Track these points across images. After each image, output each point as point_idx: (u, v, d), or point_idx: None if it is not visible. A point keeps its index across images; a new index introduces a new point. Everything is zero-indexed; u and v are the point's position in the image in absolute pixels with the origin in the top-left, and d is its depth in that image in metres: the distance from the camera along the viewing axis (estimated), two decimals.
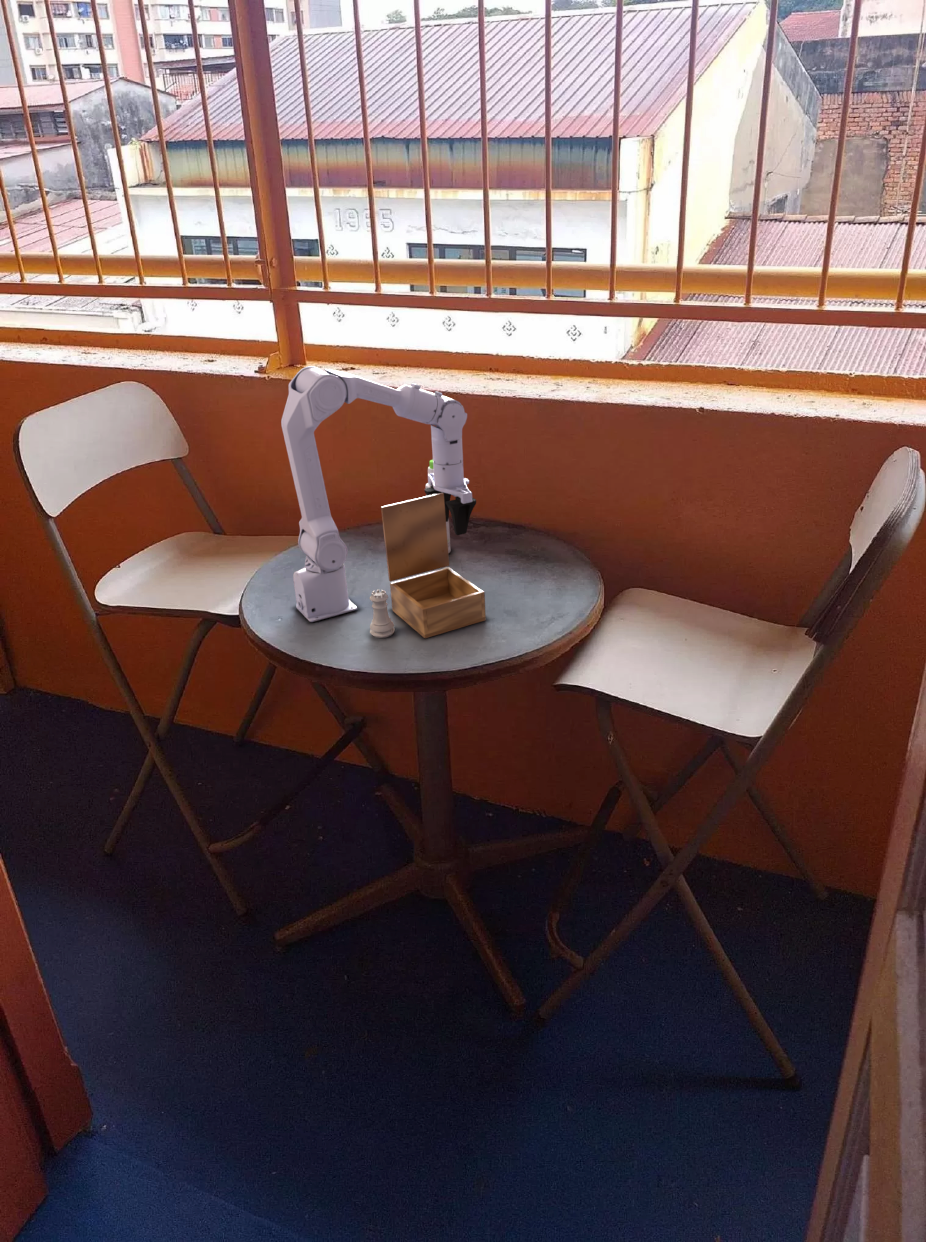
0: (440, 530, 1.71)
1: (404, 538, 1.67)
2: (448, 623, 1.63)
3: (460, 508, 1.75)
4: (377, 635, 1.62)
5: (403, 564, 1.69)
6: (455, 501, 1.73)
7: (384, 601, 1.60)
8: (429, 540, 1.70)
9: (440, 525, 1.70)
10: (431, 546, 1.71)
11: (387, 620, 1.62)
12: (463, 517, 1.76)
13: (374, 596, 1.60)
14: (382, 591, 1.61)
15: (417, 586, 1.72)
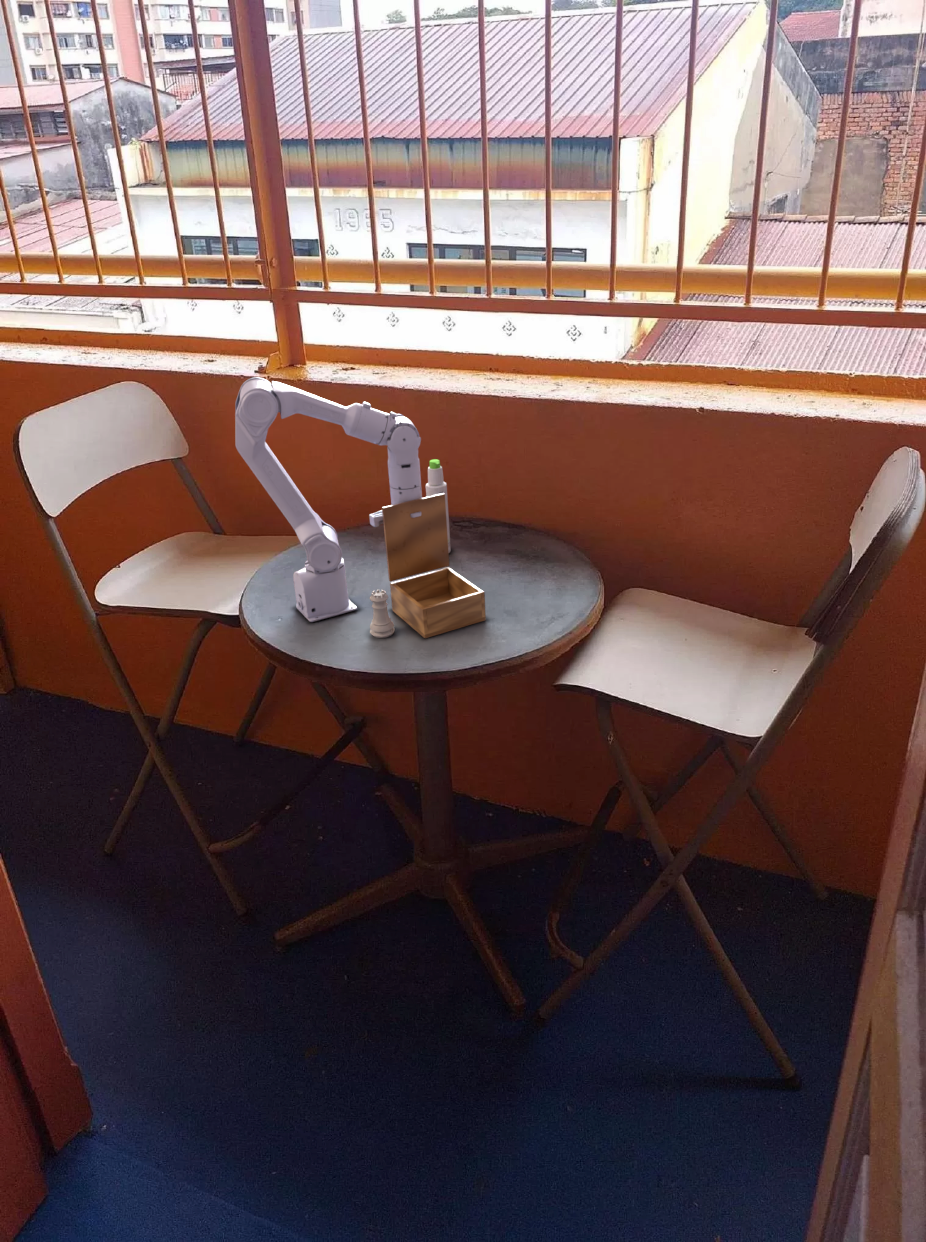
0: (441, 530, 1.70)
1: (405, 538, 1.67)
2: (448, 623, 1.63)
3: None
4: (377, 635, 1.62)
5: (403, 564, 1.69)
6: None
7: (384, 601, 1.60)
8: (429, 540, 1.70)
9: (441, 525, 1.70)
10: (431, 546, 1.71)
11: (387, 620, 1.62)
12: None
13: (374, 596, 1.60)
14: (382, 591, 1.61)
15: (417, 586, 1.72)
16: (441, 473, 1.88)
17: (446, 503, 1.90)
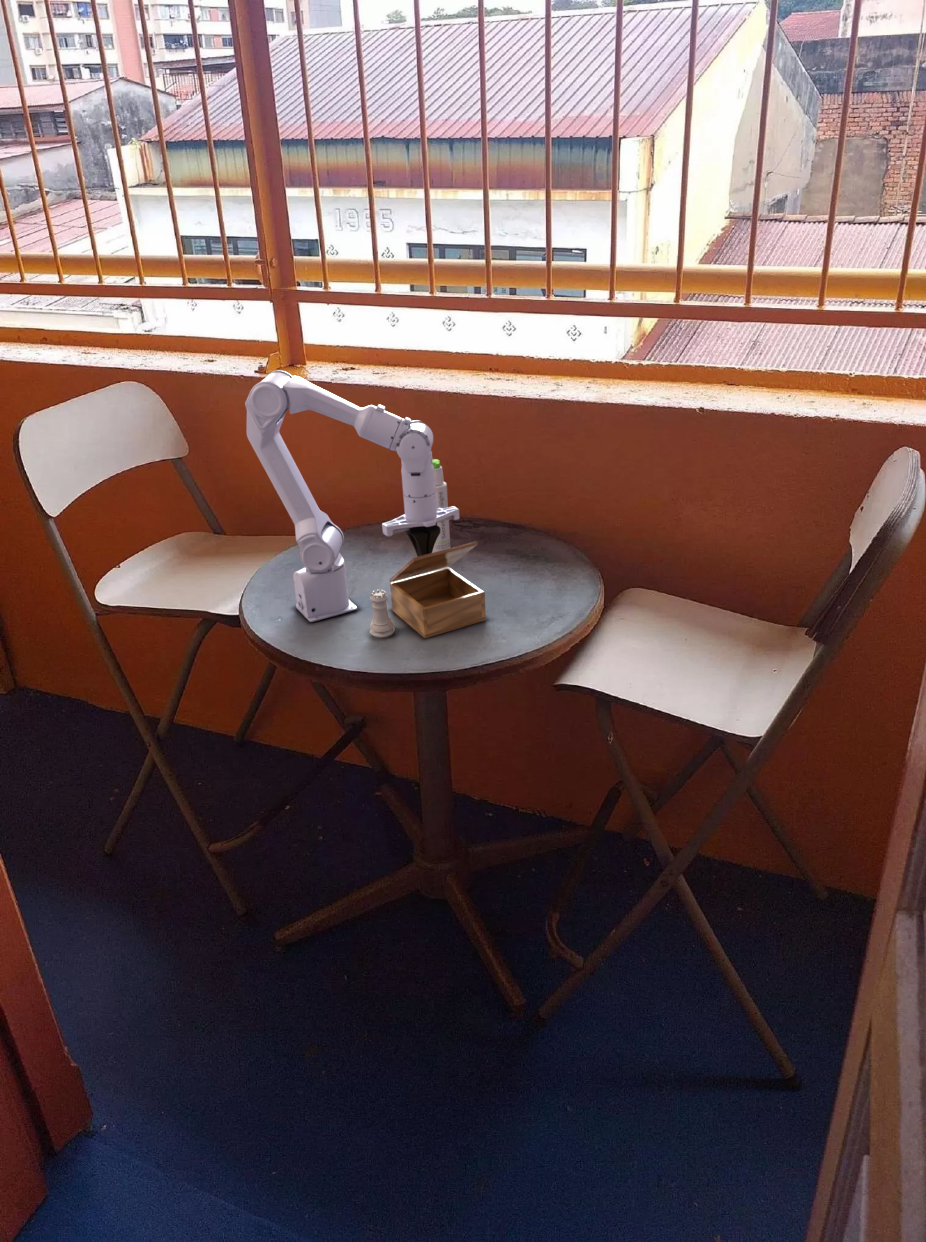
0: (457, 557, 1.67)
1: (421, 566, 1.64)
2: (448, 623, 1.63)
3: None
4: (377, 635, 1.62)
5: (409, 575, 1.68)
6: None
7: (384, 601, 1.60)
8: (442, 562, 1.67)
9: (459, 555, 1.66)
10: (441, 564, 1.69)
11: (387, 620, 1.62)
12: None
13: (374, 596, 1.60)
14: (382, 591, 1.61)
15: (417, 586, 1.72)
16: (441, 473, 1.88)
17: (446, 503, 1.90)
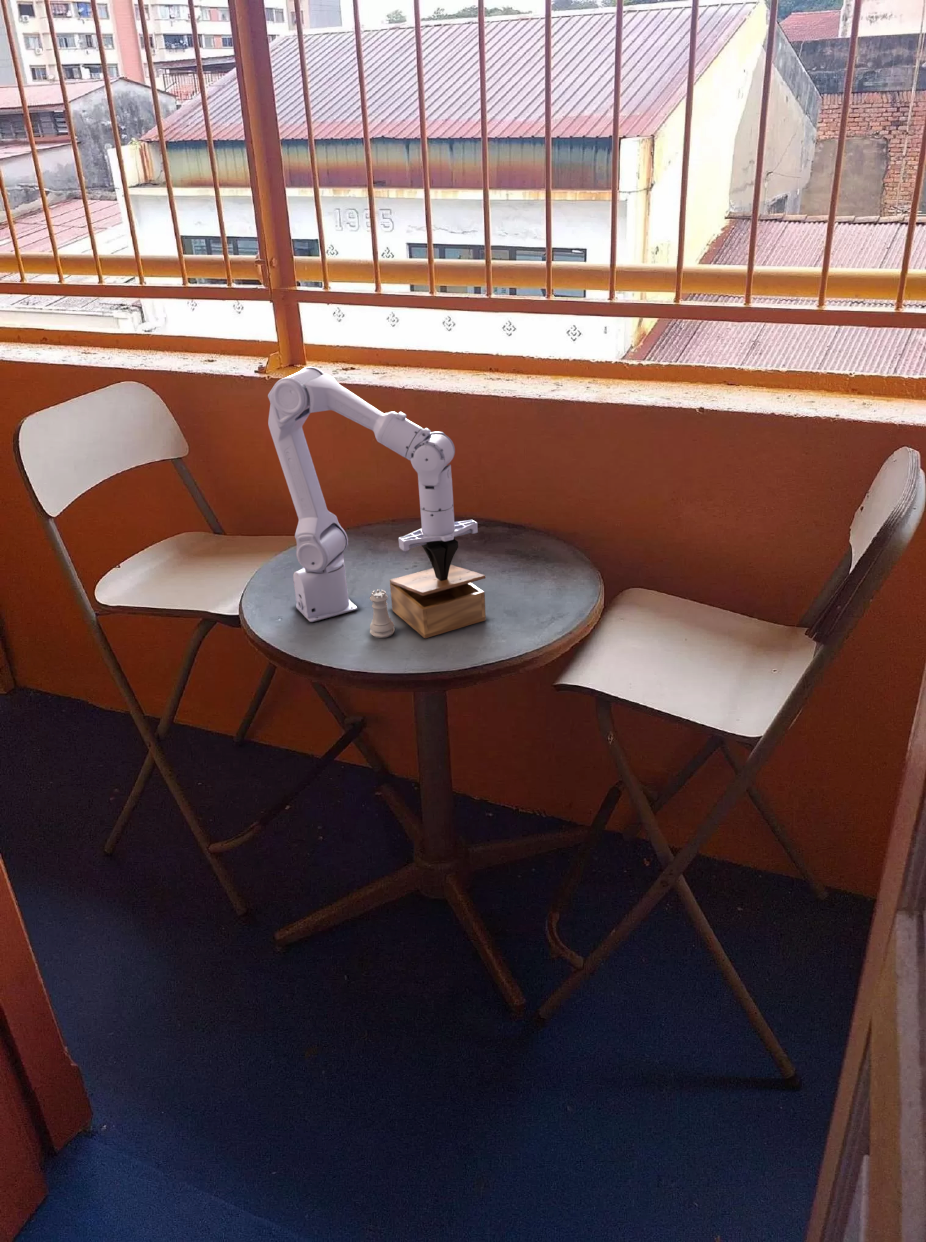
0: None
1: None
2: (448, 623, 1.63)
3: None
4: (377, 635, 1.62)
5: None
6: None
7: (384, 601, 1.60)
8: None
9: None
10: None
11: (387, 620, 1.62)
12: None
13: (374, 596, 1.60)
14: (382, 591, 1.61)
15: None
16: None
17: None
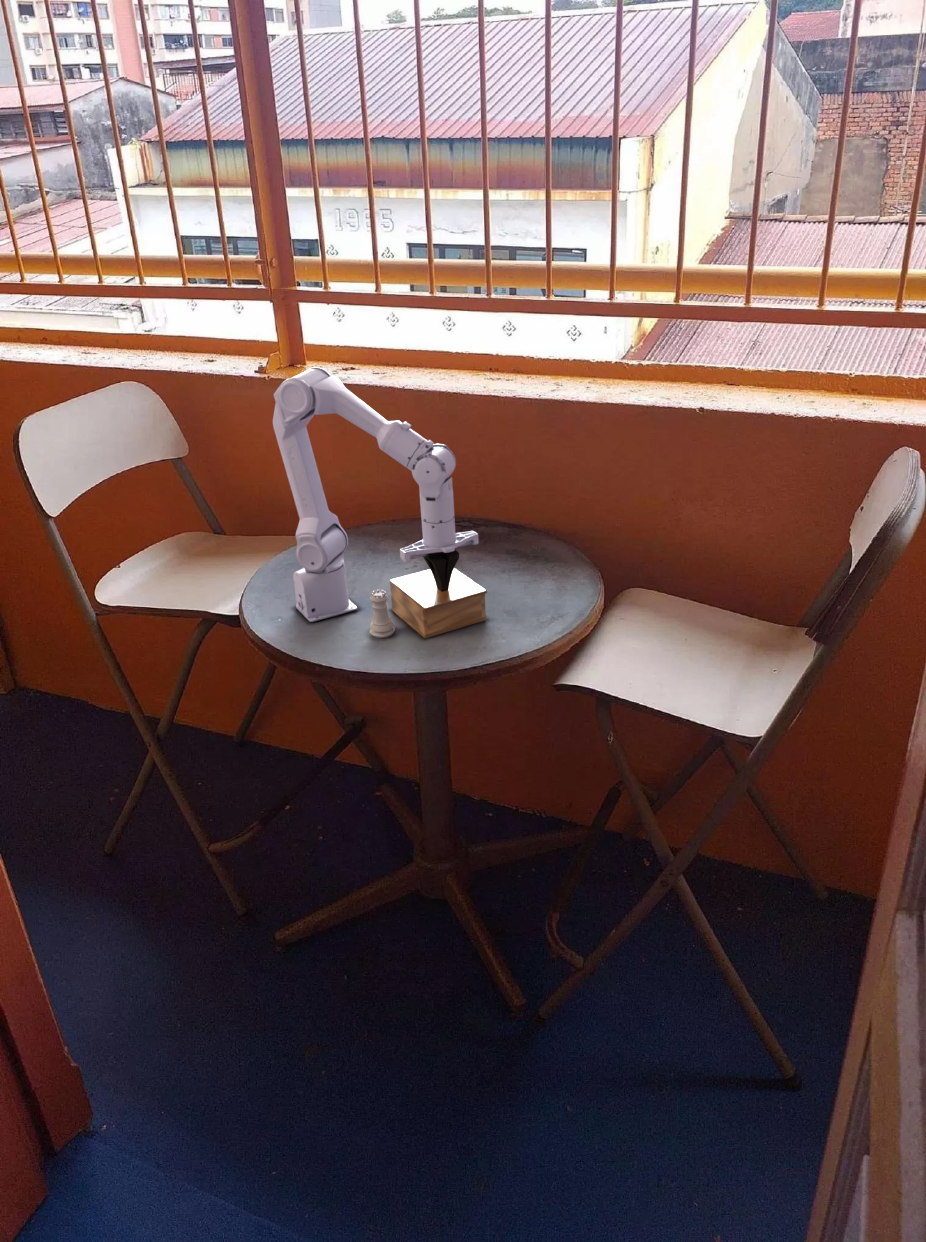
0: None
1: None
2: (448, 623, 1.63)
3: None
4: (377, 635, 1.62)
5: None
6: None
7: (384, 601, 1.60)
8: None
9: None
10: None
11: (387, 620, 1.62)
12: None
13: (374, 596, 1.60)
14: (382, 591, 1.61)
15: None
16: None
17: None
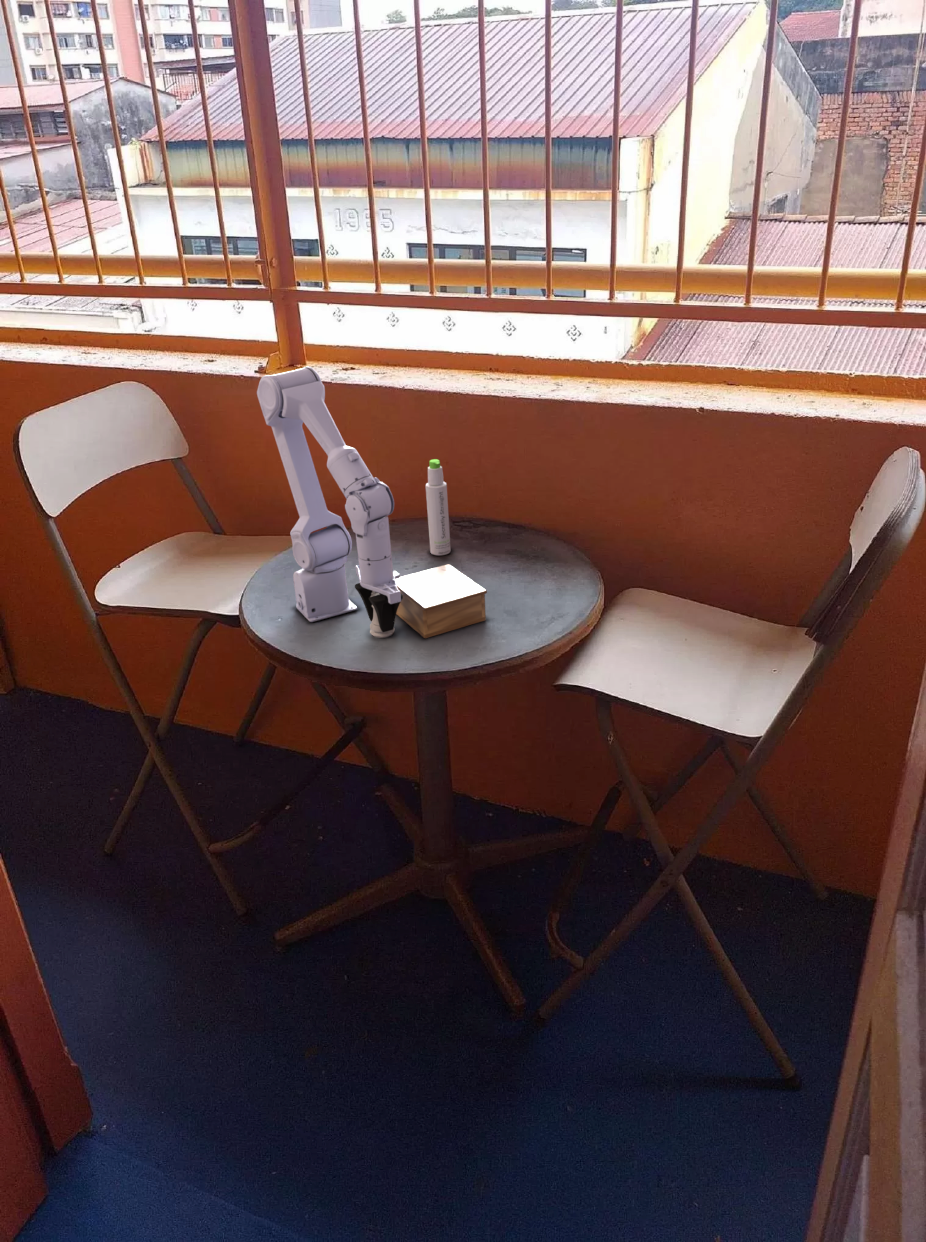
0: None
1: None
2: (448, 623, 1.63)
3: (385, 604, 1.59)
4: (377, 635, 1.62)
5: None
6: (379, 597, 1.57)
7: None
8: None
9: None
10: None
11: None
12: (389, 613, 1.60)
13: None
14: None
15: None
16: (441, 473, 1.88)
17: (446, 503, 1.90)
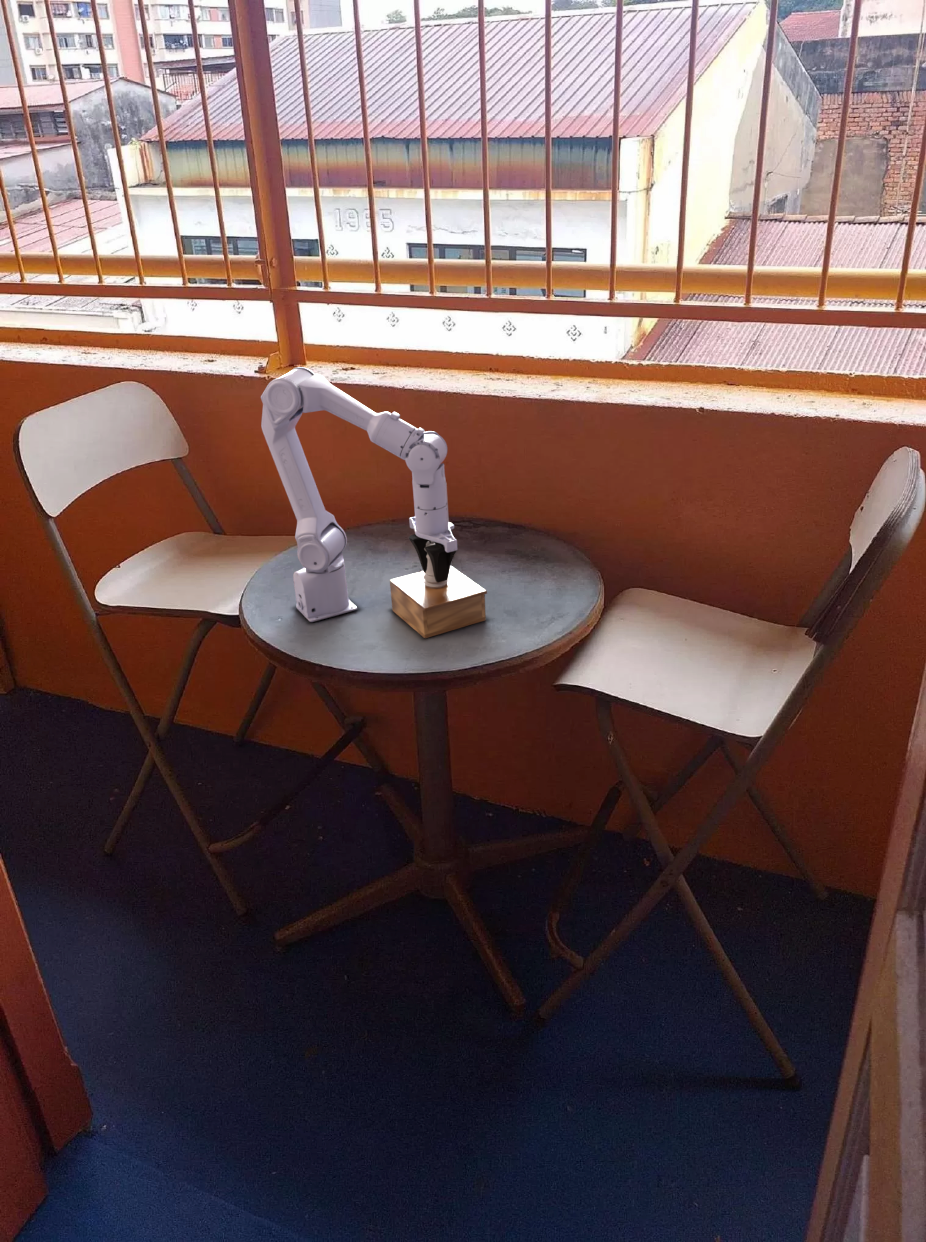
0: None
1: None
2: (448, 623, 1.63)
3: (440, 553, 1.61)
4: (431, 585, 1.65)
5: None
6: (435, 546, 1.59)
7: None
8: None
9: None
10: None
11: None
12: (444, 563, 1.62)
13: None
14: None
15: None
16: None
17: None
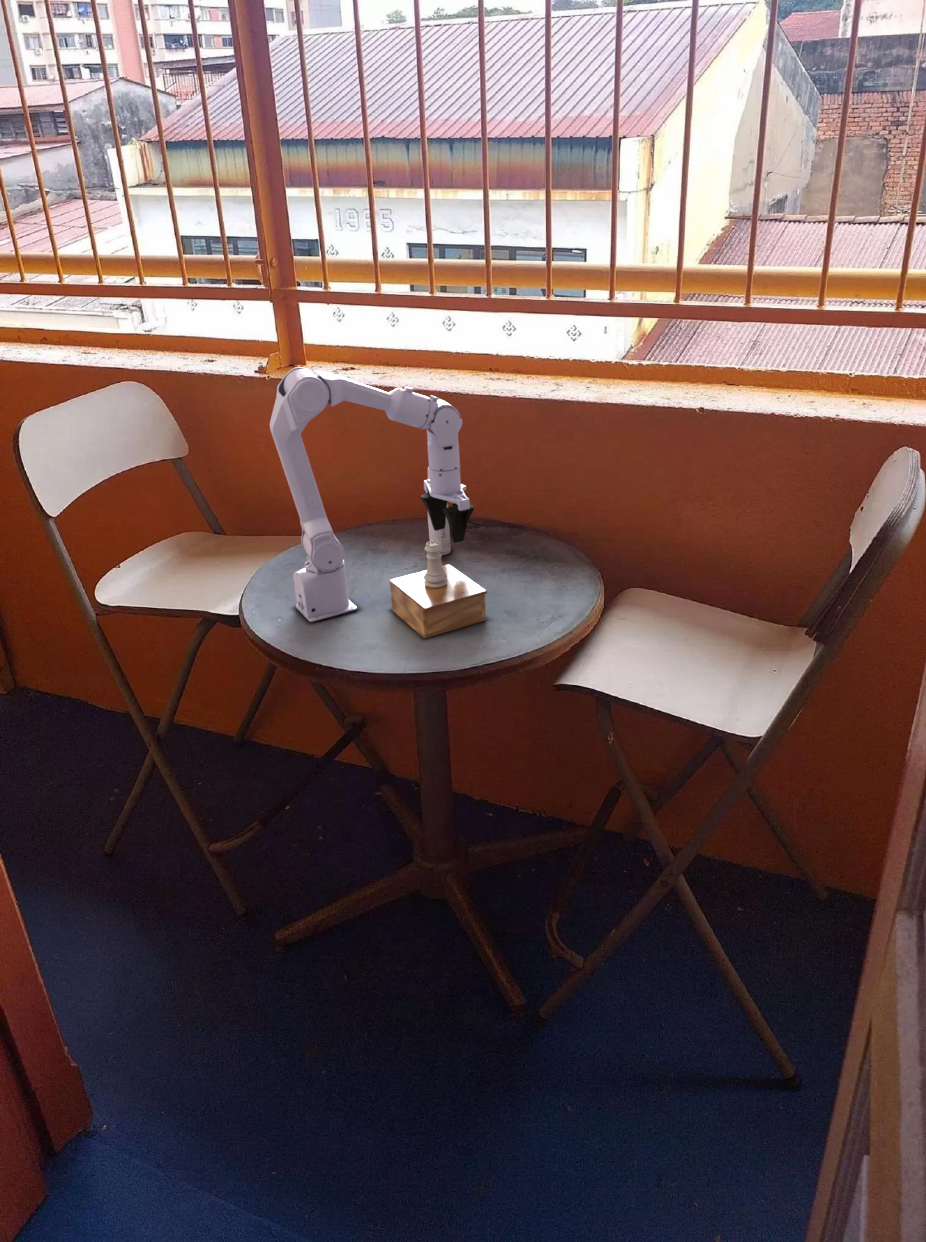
0: None
1: None
2: (448, 623, 1.63)
3: (457, 515, 1.71)
4: (431, 585, 1.65)
5: None
6: (452, 508, 1.69)
7: (439, 551, 1.63)
8: None
9: None
10: None
11: (441, 571, 1.64)
12: (461, 524, 1.72)
13: (429, 546, 1.62)
14: (436, 542, 1.64)
15: None
16: None
17: None
